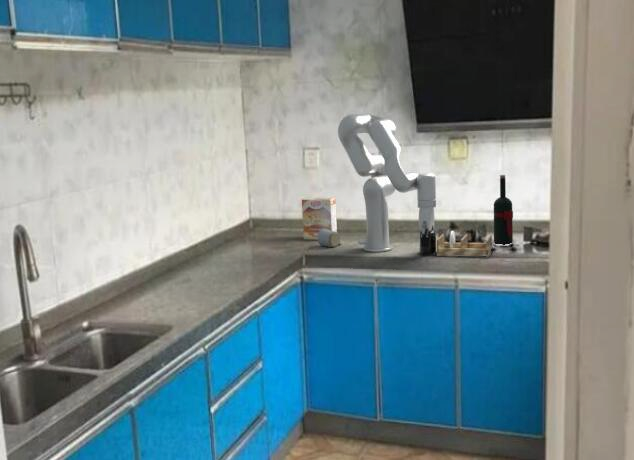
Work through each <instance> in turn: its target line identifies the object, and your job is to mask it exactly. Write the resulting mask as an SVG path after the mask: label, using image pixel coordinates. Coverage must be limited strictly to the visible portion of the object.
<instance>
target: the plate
mask: <svg viewBox="0 0 634 460" xmlns="http://www.w3.org/2000/svg"><path fill="white" fill-rule="evenodd" d="M449 243H450V248H455V243H456V233H455V231H454V230H451V231H450V233H449Z"/></svg>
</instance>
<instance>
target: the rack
mask: <svg viewBox="0 0 634 460" xmlns="http://www.w3.org/2000/svg"><path fill="white" fill-rule="evenodd" d="M468 235H469V234H464V236H463V237H461V240H460V242H455V248H450V242H449V241H448V242H447V241H445V233H442V234H440V235H439V237H438V238H436V256H437V257H455V256H454V255H467V256H488V254H489V253H490V251H491V249H492V250H493V244H492V242H493V237H492V236H493V235H492V234H489V235H488V237H487V238H486V239H485V242H469V241H468V239H469V236H468ZM491 252H492V251H491ZM490 254H491V253H490ZM488 257H489V256H488Z"/></svg>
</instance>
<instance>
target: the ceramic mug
mask: <svg viewBox="0 0 634 460" xmlns="http://www.w3.org/2000/svg"><path fill="white" fill-rule="evenodd" d="M317 242H318V243H317V244H319V246H322V247H327V246H328V247H329V248H336V247H337V246H338V245H343V240H341V235H340V234H339V233H338V231H337V232H334V231H330V230H327V229H323V230H321V231H320V232H319V234H318V240H317Z"/></svg>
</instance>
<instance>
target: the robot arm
mask: <svg viewBox="0 0 634 460" xmlns="http://www.w3.org/2000/svg"><path fill="white" fill-rule="evenodd" d="M396 131H397V129H396V125H395V123H394V122H393V121H392V119H389V118H385V117H381V116H379V115H378V116H377V115H374V114H371V113H366V112H365V113H362V112H361V113H351V114H348V115H346V116H343V118H342V119H341V120H340V122H339V124H338V128H337V135H338V138H339V141H340V143H341V145H342V146H343V148H344V150H345V152H346V154H347V156H348V158H349V160H350V162H351V164H352V166H353V168H354V170H355V172H356V173H357V175H359V176H360V177H365V178H366V177H370V178H368V179H367V180H366V181H365V182H364V184H363V186H362V192H363V199H364V203H365V220H366V222H365V224H366V238H365V239H358V241H357V243H358V245H364V247H363V250H364V251H366V252H372V253H373V252H374V253H379V252H380V253H381V252H389V251H392V250H393V249H394V245H392V244H390V234H389V233H390V231H389V226H390V225H389V224H390V223H389V206H388V203H387V202H388V201H387V198H386V197H389V196H392V195H393V194H394V193H395V192H396V191H397V192H399V193H401V194H402V193H404V194H405V193H408V192H412V191H416V192H417V194H416V195H417V196H416V197H417V208H418V231H419V233H420V232H421V231H422V232H421V246H422V247H429V237H428V234H429V232H430V231H431V230H432V225H433V228H435V223H436V222H435V208H436V207H437V198H436V194H437V191H436V189H437V188H436V187H437V186H436V176H435V174H434V173H418V172H413V171H412V172H411V171H410V172H408V173H407V172H406V173H405V171H404V170H403V168H402V167H401V164H400V161H399V160H400V154H401V150H402V149H401V146H400V145H399V142H398V141H397V140H396V138H395V136H394V135H395V134H396ZM363 133H364V134H368V135H369V137H370V139H371V141H372V143H374V145H375V147H376V149H377V150H378V152H379V153H375V152H369V151H368V149H367V147H366V144H365V143H364V141H363V140H362V139H361V138H360V137H359V134H363ZM433 231H435V230H434V229H433ZM426 232H427V234H426Z"/></svg>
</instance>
